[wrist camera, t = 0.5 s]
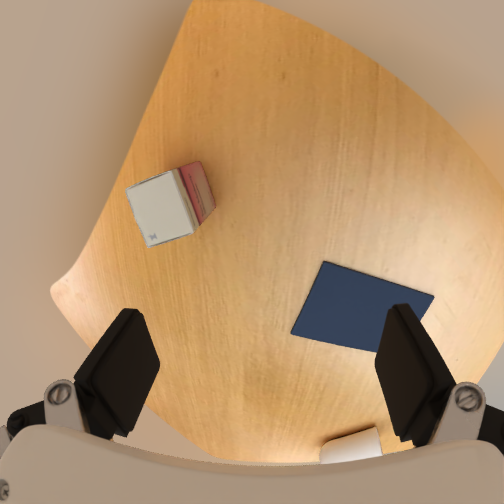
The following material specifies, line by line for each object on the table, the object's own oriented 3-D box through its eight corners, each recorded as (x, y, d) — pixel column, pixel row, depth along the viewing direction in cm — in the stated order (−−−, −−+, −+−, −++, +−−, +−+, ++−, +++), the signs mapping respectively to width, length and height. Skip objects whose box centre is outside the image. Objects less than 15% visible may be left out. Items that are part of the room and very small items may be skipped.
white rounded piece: (319, 485, 34) (384, 468, 31) (312, 443, 41) (375, 425, 38) (332, 477, 42) (385, 462, 39) (325, 443, 48) (377, 427, 46)
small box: (217, 207, 27) (196, 235, 19) (179, 219, 27) (147, 250, 20) (200, 159, 25) (171, 168, 18) (162, 174, 26) (122, 189, 18)
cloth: (323, 260, 28) (324, 262, 28) (433, 295, 29) (434, 297, 28) (290, 332, 32) (290, 334, 32) (395, 354, 33) (395, 355, 32)
